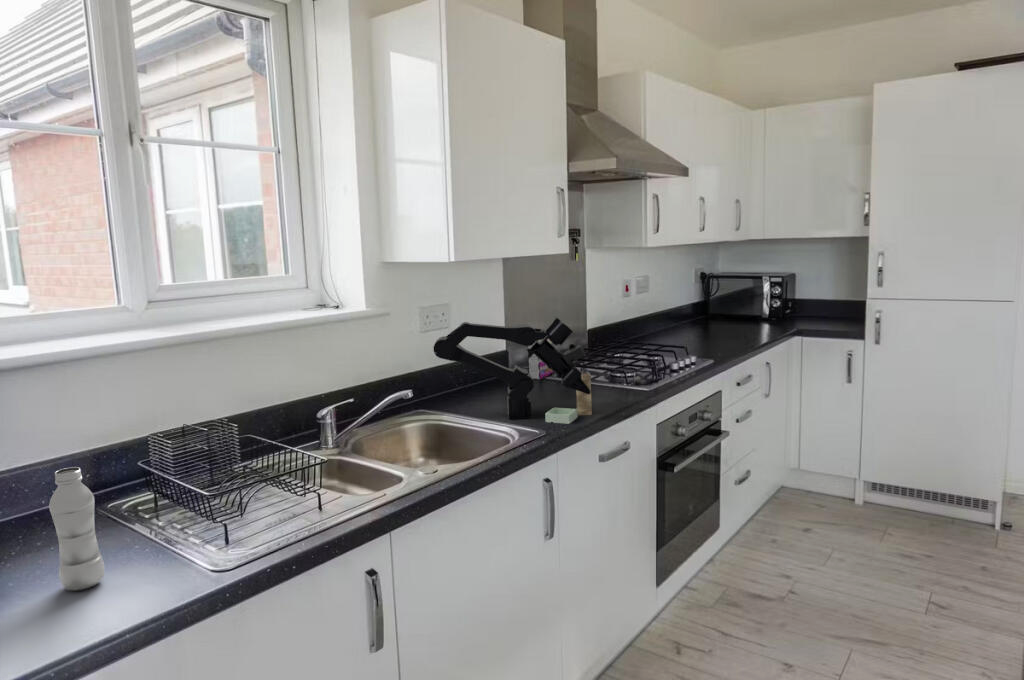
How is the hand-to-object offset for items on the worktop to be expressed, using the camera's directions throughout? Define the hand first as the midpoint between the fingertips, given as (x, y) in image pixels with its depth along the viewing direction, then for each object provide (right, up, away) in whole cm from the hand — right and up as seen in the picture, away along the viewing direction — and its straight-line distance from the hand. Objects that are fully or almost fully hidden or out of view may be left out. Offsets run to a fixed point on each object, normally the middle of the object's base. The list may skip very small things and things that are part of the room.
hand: (588, 390), depth 212 cm
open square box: (-8, -8, -5) cm, 13 cm away
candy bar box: (-12, +1, +59) cm, 60 cm away
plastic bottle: (-95, -26, -96) cm, 137 cm away
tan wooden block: (-1, -7, +1) cm, 7 cm away
